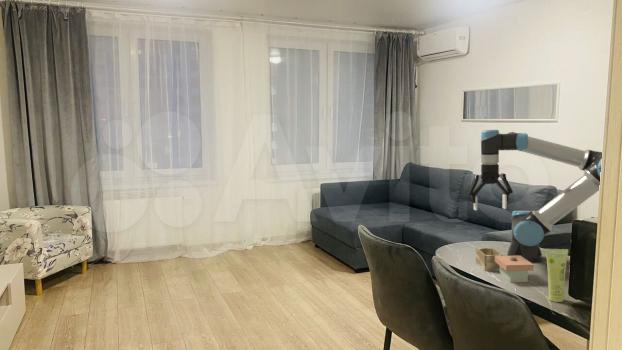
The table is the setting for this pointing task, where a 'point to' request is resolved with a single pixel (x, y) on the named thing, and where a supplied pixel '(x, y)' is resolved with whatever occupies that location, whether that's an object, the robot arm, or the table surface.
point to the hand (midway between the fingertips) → (490, 209)
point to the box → (487, 259)
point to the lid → (514, 263)
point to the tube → (556, 273)
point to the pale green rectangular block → (515, 275)
